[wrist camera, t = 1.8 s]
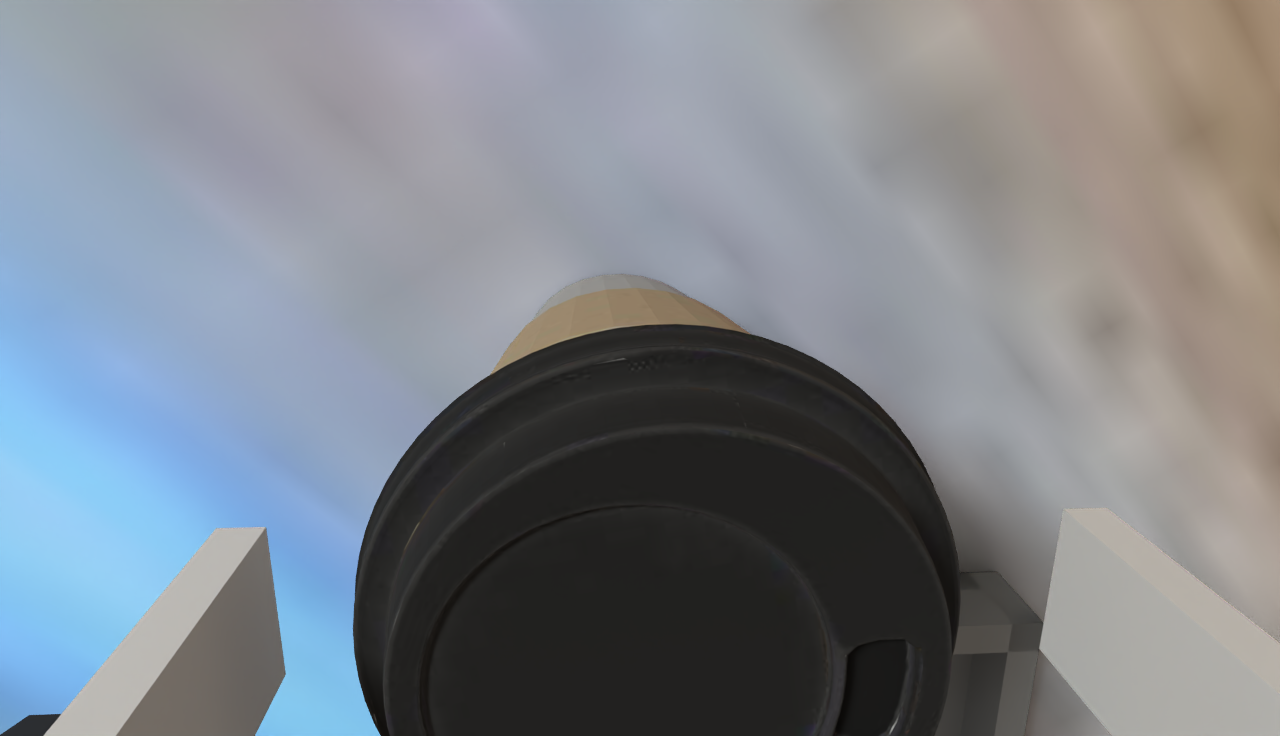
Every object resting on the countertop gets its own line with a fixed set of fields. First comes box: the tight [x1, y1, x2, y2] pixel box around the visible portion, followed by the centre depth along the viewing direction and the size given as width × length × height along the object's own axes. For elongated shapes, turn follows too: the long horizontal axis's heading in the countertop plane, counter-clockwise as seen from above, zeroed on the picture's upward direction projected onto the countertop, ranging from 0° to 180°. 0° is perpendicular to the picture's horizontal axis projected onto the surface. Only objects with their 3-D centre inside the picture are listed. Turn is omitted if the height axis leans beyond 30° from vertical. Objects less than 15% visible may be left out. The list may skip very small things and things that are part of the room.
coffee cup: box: [353, 274, 961, 736], centre depth 19 cm, size 10×9×15 cm
